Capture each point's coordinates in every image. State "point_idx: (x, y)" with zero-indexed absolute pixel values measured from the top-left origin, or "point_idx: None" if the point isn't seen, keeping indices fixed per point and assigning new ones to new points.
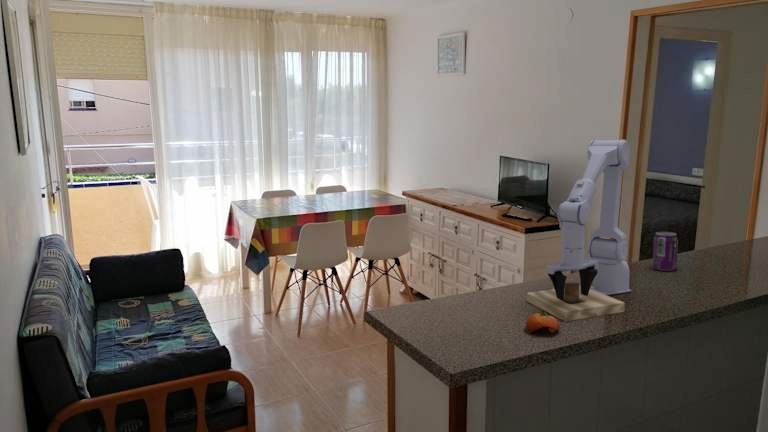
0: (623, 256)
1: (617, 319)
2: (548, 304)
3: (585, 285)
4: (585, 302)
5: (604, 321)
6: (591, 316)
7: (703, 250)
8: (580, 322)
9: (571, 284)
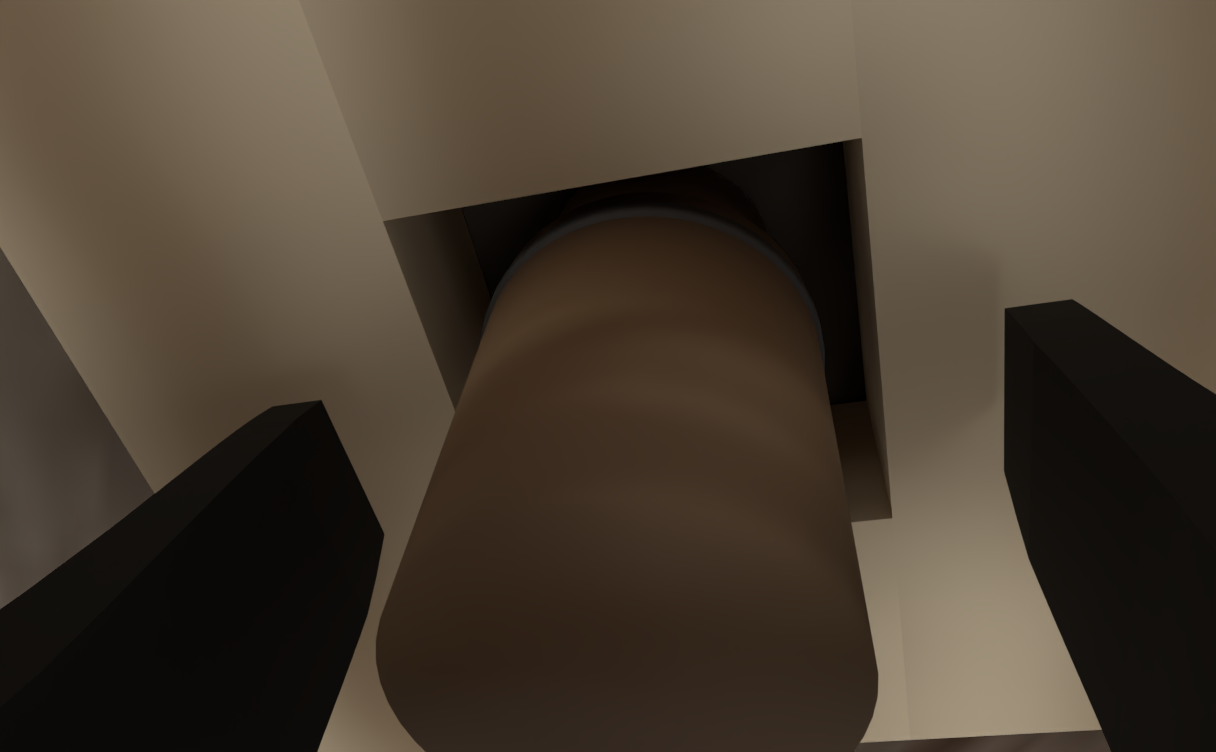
0: None
1: (1068, 739)
2: (120, 413)
3: (1107, 654)
4: (859, 540)
5: (858, 747)
6: None
7: None
8: None
9: (585, 724)
